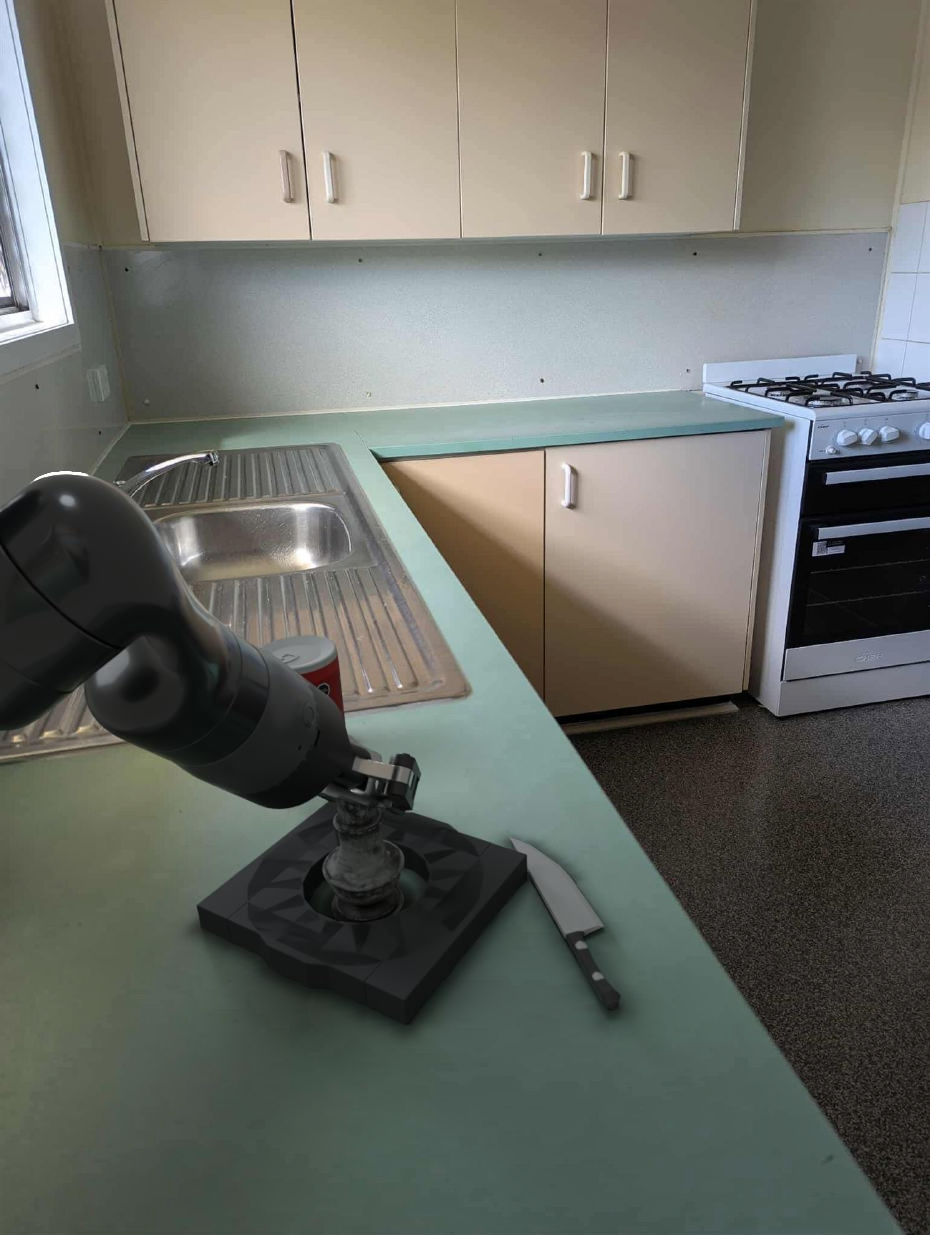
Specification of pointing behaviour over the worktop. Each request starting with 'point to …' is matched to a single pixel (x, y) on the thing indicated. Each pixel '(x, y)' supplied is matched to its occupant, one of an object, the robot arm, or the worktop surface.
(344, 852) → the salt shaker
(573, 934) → the chef's knife
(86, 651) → the robot arm
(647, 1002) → the worktop surface
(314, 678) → the canned food
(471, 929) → the black pad
